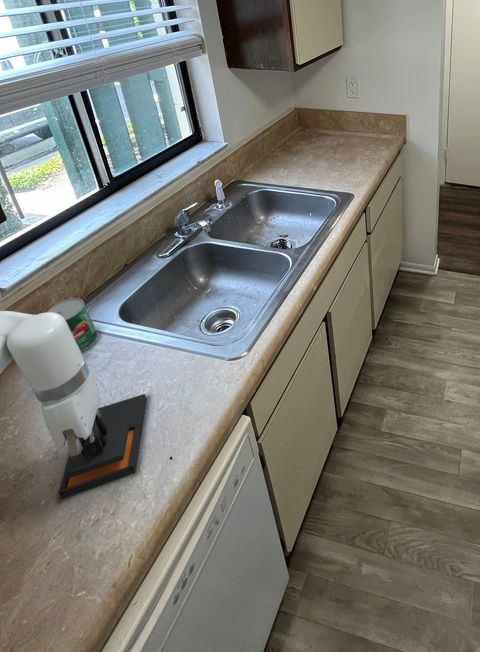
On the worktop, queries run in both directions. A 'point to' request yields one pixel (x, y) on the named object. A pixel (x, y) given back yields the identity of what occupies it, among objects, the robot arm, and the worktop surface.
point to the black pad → (112, 452)
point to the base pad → (134, 415)
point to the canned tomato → (77, 321)
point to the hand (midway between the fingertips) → (96, 444)
